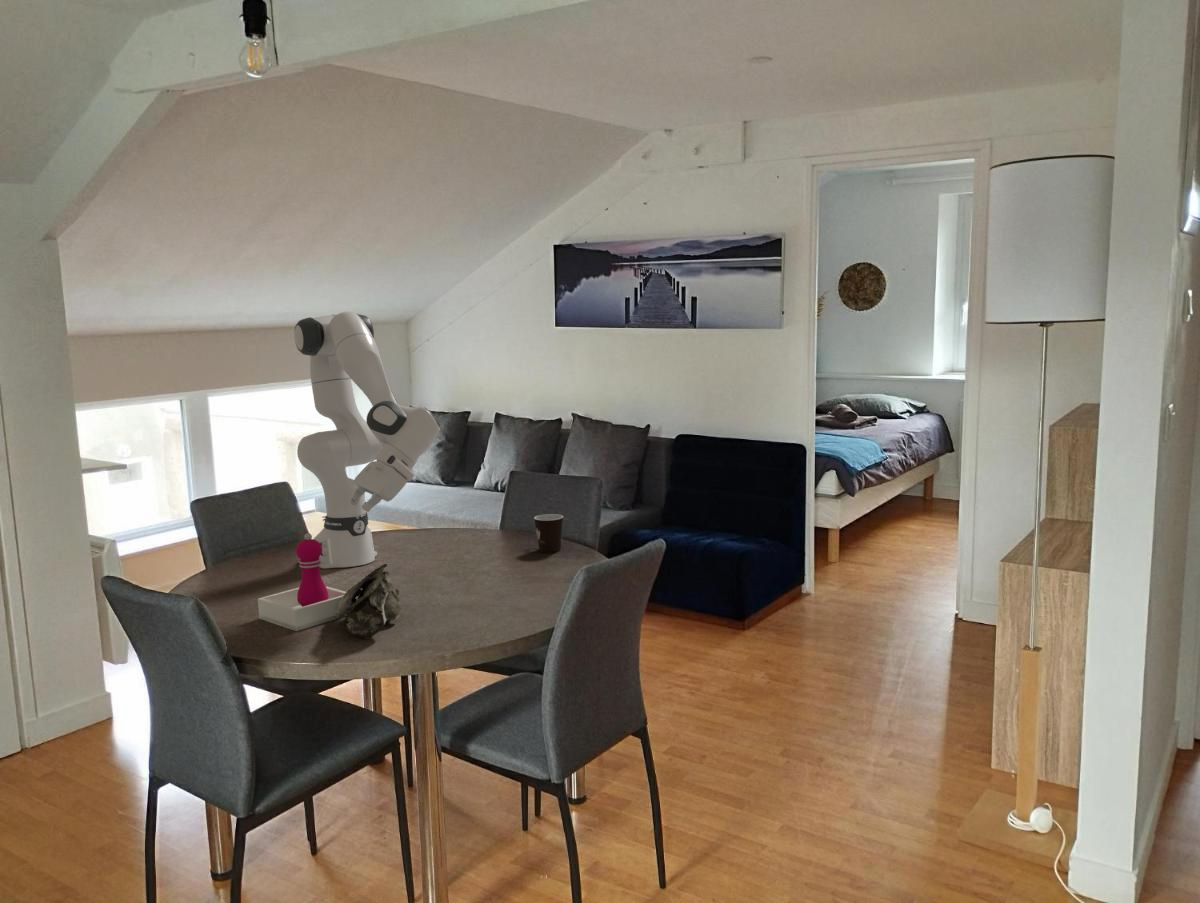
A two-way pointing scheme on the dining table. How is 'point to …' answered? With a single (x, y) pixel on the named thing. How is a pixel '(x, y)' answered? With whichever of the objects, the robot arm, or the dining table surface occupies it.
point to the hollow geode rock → (370, 604)
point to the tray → (298, 609)
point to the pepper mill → (310, 572)
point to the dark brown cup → (549, 532)
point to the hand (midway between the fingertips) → (357, 506)
